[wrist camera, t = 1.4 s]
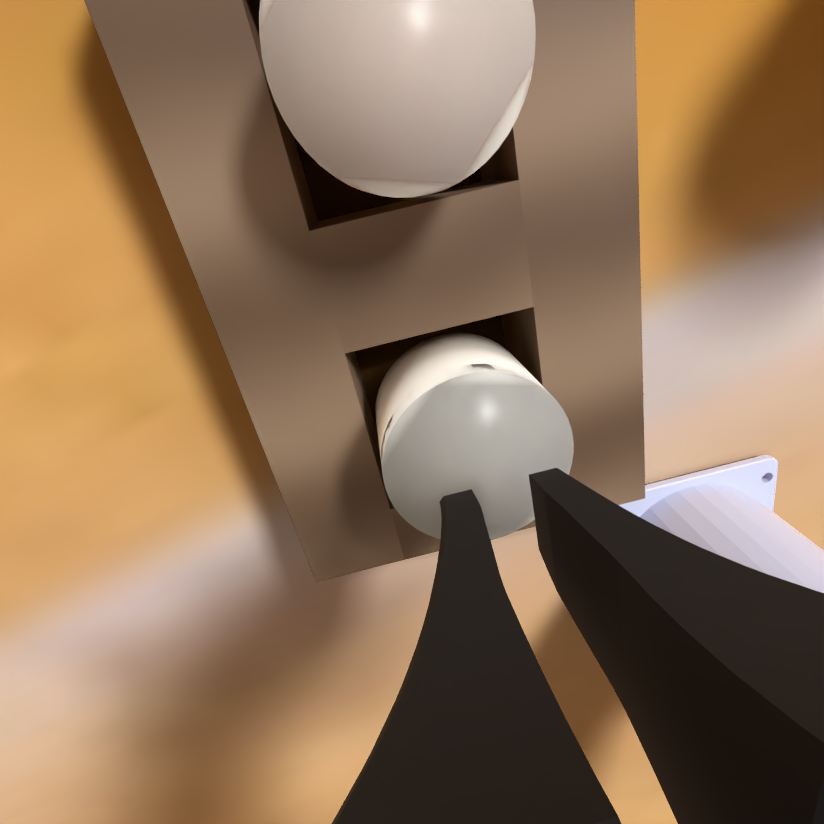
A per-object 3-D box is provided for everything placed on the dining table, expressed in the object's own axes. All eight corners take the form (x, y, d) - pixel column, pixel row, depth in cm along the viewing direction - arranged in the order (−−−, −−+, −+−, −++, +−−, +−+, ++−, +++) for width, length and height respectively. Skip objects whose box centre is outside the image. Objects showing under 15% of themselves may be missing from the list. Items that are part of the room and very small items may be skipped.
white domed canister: (537, 456, 17) (580, 517, 14) (395, 491, 17) (406, 561, 14) (519, 315, 15) (564, 349, 12) (357, 355, 15) (359, 400, 12)
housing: (595, 445, 21) (645, 498, 18) (321, 514, 21) (316, 581, 18) (552, -161, 13) (627, -290, 10) (113, -58, 13) (24, -150, 10)
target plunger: (501, 170, 13) (548, 165, 10) (318, 215, 13) (308, 223, 10) (469, -72, 11) (517, -173, 8) (252, -21, 11) (214, -102, 8)
